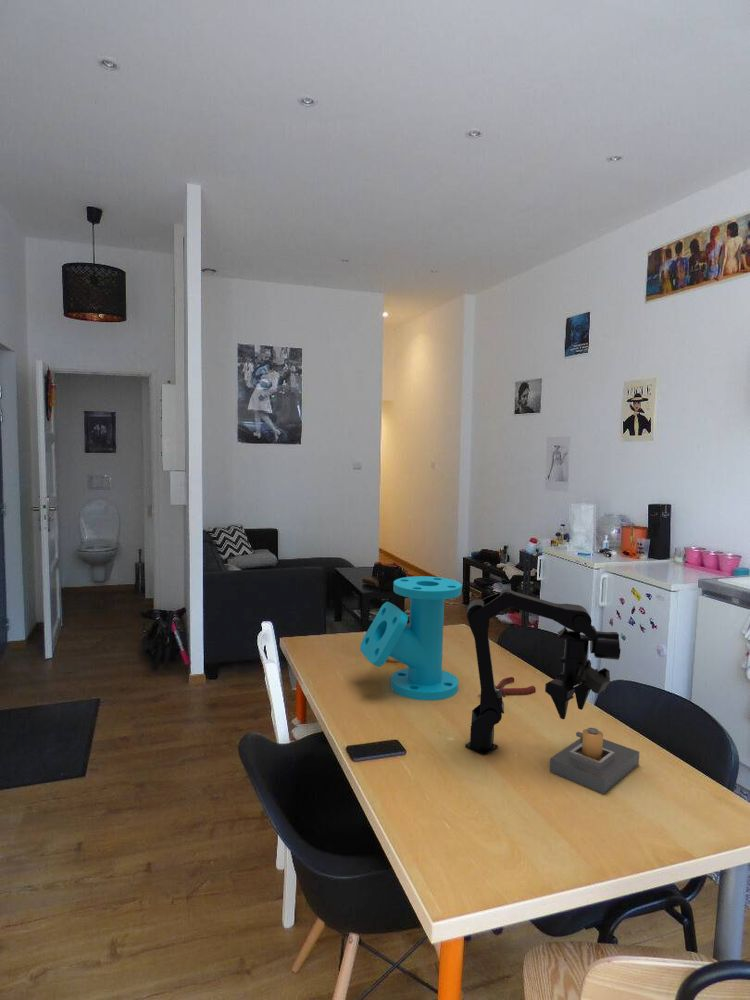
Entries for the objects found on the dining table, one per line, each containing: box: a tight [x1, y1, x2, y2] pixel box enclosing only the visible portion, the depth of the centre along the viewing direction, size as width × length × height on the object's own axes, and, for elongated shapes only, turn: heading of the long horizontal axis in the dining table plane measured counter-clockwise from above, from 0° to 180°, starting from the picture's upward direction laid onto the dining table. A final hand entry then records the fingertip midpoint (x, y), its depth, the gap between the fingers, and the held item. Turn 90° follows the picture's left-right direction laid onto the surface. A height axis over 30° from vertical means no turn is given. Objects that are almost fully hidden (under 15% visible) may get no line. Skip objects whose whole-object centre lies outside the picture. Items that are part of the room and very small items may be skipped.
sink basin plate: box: [549, 737, 640, 795], centre depth 158 cm, size 20×14×5 cm
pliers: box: [477, 676, 537, 698], centre depth 206 cm, size 12×20×3 cm, turn 125°
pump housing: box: [575, 727, 604, 761], centre depth 158 cm, size 5×7×7 cm
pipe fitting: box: [359, 575, 463, 701], centre depth 207 cm, size 22×32×35 cm
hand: (571, 713), depth 163 cm, fingers open, 9 cm apart
